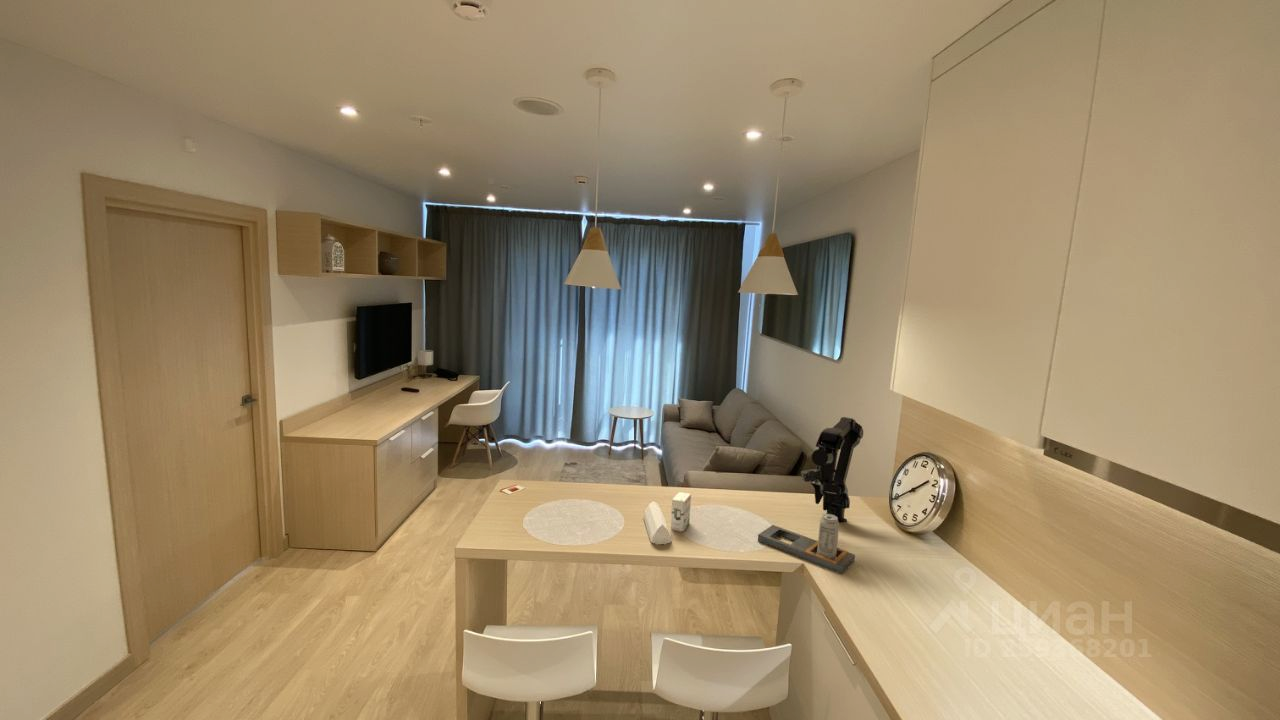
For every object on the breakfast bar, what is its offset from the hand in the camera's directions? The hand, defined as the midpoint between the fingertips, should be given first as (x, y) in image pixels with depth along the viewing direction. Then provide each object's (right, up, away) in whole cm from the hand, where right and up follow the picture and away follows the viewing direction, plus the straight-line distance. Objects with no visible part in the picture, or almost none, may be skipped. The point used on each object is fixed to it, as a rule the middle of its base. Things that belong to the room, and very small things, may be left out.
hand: (820, 507), depth 186 cm
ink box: (-51, -9, +6) cm, 52 cm away
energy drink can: (-3, -14, -15) cm, 20 cm away
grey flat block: (-9, -12, -10) cm, 18 cm away
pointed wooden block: (-60, -9, +2) cm, 60 cm away
